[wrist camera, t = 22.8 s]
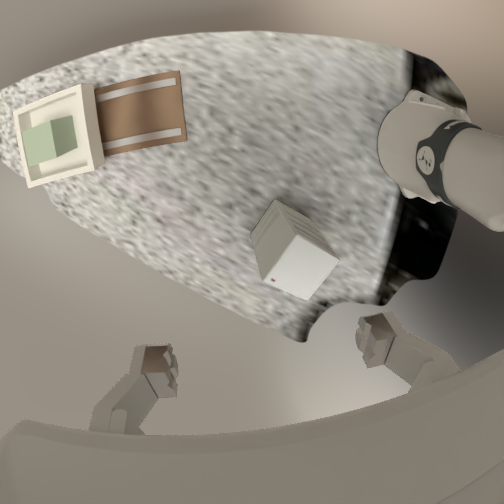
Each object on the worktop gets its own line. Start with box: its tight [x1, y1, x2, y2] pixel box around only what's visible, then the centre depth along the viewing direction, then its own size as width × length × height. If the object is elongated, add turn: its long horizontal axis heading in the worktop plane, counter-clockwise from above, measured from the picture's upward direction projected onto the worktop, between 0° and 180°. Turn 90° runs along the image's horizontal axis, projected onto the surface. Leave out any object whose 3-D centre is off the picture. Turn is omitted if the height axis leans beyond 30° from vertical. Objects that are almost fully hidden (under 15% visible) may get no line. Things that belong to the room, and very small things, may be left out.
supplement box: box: [250, 199, 340, 301], centre depth 41 cm, size 7×7×13 cm
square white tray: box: [13, 84, 105, 188], centre depth 30 cm, size 11×11×6 cm
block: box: [22, 115, 78, 167], centre depth 28 cm, size 4×4×6 cm
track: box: [94, 71, 187, 156], centre depth 34 cm, size 22×10×1 cm, turn 94°
